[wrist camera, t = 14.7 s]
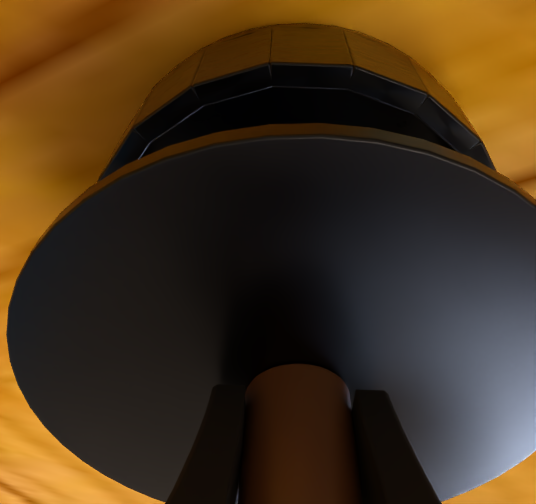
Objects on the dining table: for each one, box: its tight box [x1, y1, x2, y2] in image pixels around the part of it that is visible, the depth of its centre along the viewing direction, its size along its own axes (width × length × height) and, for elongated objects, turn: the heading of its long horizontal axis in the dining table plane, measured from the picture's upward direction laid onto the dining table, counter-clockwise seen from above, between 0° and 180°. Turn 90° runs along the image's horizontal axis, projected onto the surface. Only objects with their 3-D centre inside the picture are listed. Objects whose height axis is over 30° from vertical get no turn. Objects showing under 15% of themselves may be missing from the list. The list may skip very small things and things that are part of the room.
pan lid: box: [6, 123, 536, 504], centre depth 11 cm, size 13×13×5 cm
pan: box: [97, 23, 497, 182], centre depth 17 cm, size 12×12×4 cm
